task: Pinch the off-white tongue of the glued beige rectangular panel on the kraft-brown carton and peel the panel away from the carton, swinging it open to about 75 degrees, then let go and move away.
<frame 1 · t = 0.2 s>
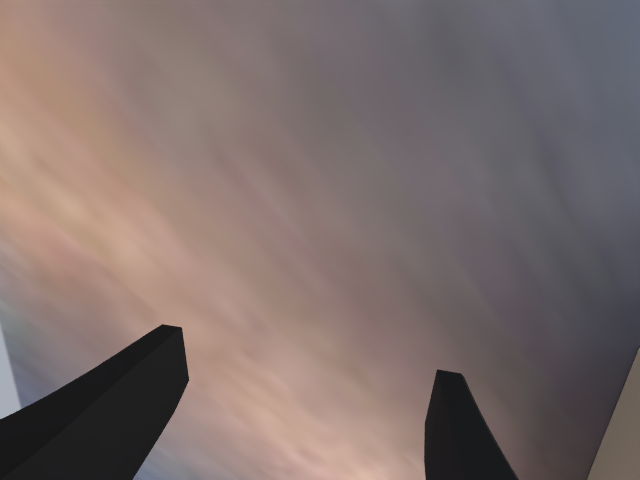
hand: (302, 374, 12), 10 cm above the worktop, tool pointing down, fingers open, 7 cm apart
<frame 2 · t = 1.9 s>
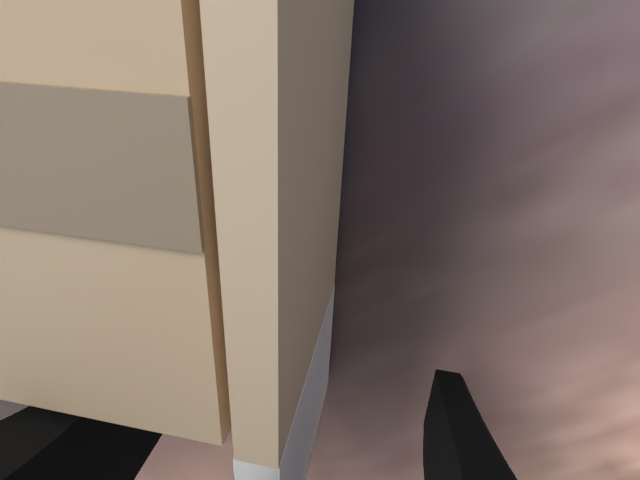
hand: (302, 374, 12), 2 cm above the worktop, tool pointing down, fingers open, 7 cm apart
beige rectangular panel: (299, 235, 9), point 3 cm above the worktop, hinge at 0.0°
carton: (88, 86, 11), on the worktop
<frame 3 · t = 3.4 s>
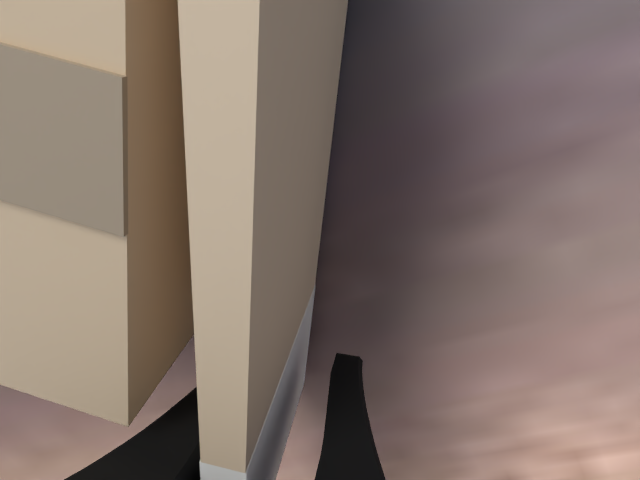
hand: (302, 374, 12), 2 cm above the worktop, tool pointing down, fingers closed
beige rectangular panel: (280, 235, 8), point 3 cm above the worktop, hinge at 6.7°, touching gripper
carton: (46, 31, 11), on the worktop
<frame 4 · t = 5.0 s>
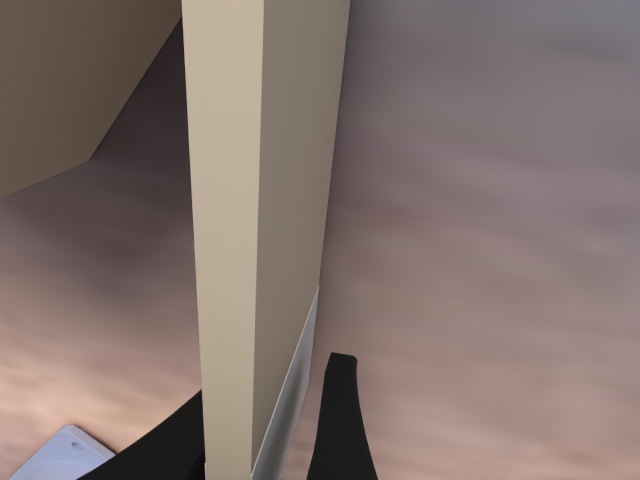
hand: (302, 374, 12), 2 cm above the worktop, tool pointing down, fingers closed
beige rectangular panel: (283, 237, 8), point 3 cm above the worktop, hinge at 38.1°, touching gripper
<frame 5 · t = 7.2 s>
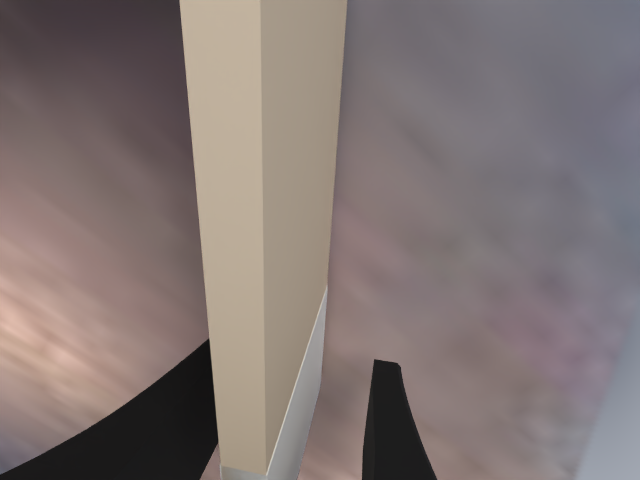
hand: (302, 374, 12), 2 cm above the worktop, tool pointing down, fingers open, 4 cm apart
beige rectangular panel: (290, 236, 8), point 3 cm above the worktop, hinge at 74.4°
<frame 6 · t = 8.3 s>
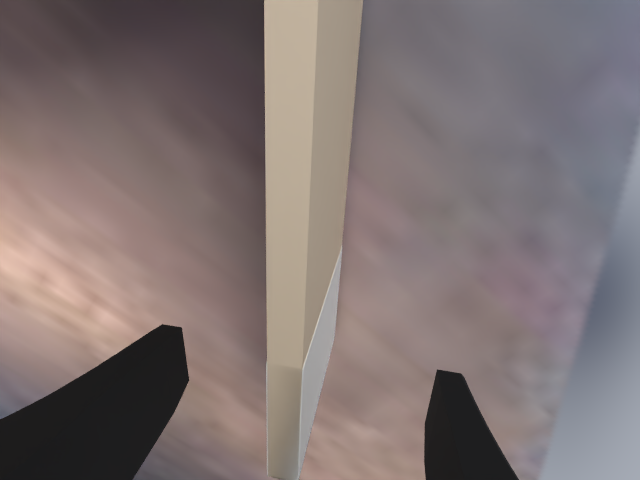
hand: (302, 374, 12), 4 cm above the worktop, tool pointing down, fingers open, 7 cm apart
beige rectangular panel: (317, 192, 11), point 3 cm above the worktop, hinge at 74.4°
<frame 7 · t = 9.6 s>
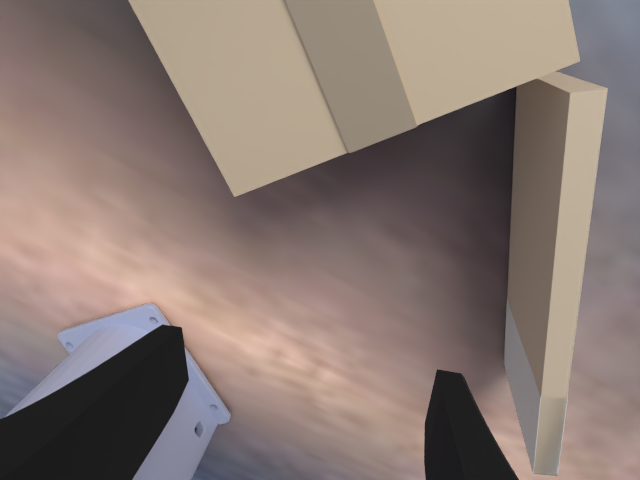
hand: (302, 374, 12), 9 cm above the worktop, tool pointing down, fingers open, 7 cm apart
beige rectangular panel: (537, 276, 16), point 3 cm above the worktop, hinge at 74.4°
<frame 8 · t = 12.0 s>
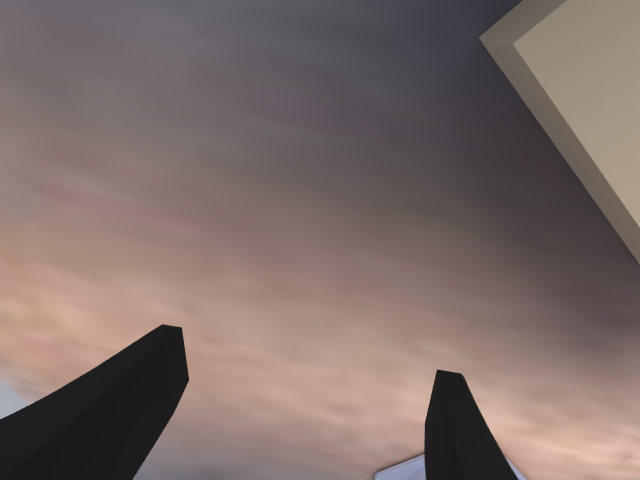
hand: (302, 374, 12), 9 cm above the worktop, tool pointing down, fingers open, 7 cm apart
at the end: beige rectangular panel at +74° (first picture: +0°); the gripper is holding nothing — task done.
